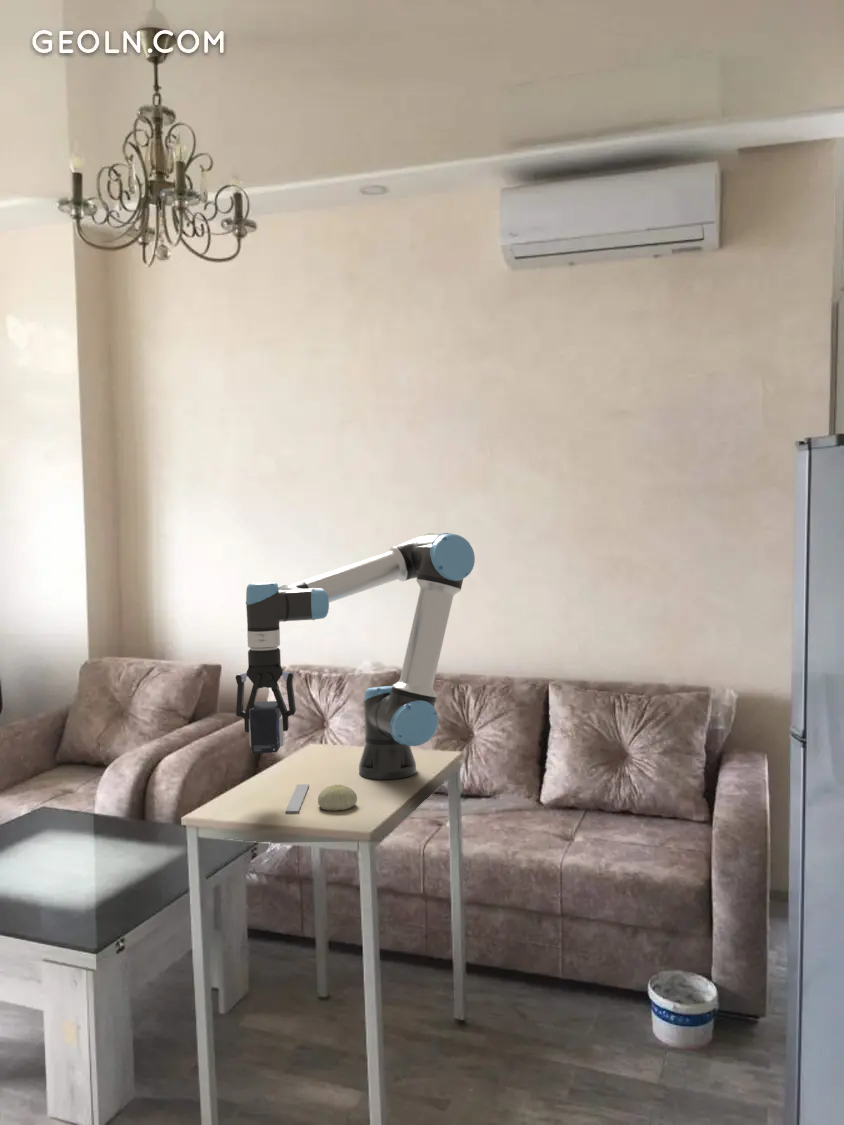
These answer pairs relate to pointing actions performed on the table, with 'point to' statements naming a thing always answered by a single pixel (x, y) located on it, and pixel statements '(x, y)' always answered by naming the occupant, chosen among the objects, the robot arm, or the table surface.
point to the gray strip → (297, 799)
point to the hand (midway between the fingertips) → (267, 745)
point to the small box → (265, 727)
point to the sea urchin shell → (337, 798)
